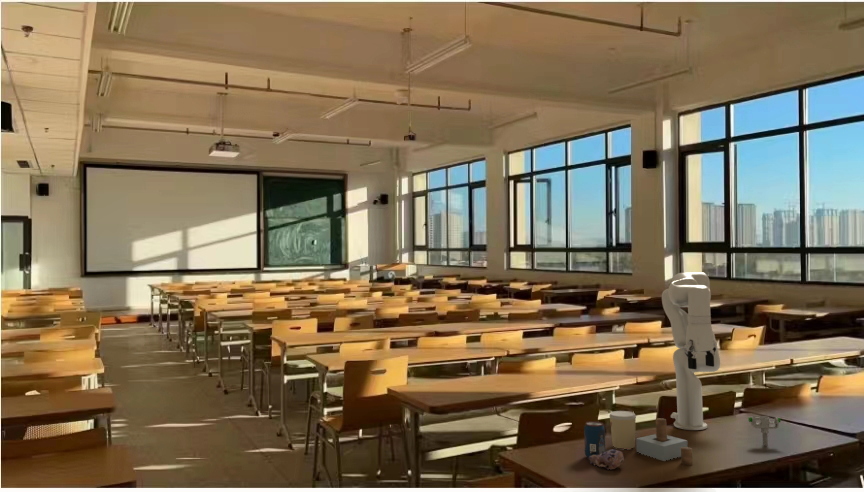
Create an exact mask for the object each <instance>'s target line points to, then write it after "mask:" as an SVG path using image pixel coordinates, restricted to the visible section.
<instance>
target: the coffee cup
mask: <svg viewBox="0 0 864 492" xmlns="http://www.w3.org/2000/svg"><path fill="white" fill-rule="evenodd" d="M636 418H637V415H636V414H635V412H634V411H633V412H632V411H628V410H616V411H611V412H610V413H609V421H610V423H609V424H610V433H611V434H610V435H611V441H612V447H613V446H614V447H617V448H624V449H626V448H633V447H634V448H635V446H636V444H635V443H636V423H637V422H636ZM614 447H613V448H614ZM617 448H616V449H617ZM634 448H633V449H634ZM624 449H623V450H624Z"/></svg>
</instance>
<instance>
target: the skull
mask: <svg viewBox="0 0 864 492" xmlns="http://www.w3.org/2000/svg"><path fill="white" fill-rule="evenodd" d="M588 461H589V462H590V464H593V465H594V464H595V465H598V466H599V467H598V468H602V467H603V468H605V469H606V470H609V469H610V470H615V469H616V468H618V467H620V466H621V465H622V464H623V463H624V462H625V458H624V453H623V452H622V451H620V450H619V449H615V448H614V449H608V450H605V452H603V453H602V454H600V455H592V456H589V459H588ZM595 465H594V466H595ZM600 466H601V467H600Z"/></svg>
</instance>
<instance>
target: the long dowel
mask: <svg viewBox="0 0 864 492" xmlns="http://www.w3.org/2000/svg"><path fill="white" fill-rule="evenodd" d="M667 430H668V428H667V419H666V418H663V417H662V418H661V417H660V418H659V417H657V418H655V434H656V438H657V441H660V442H665V441H667V435H668V433H667V432H668V431H667Z"/></svg>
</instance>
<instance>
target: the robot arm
mask: <svg viewBox="0 0 864 492" xmlns="http://www.w3.org/2000/svg"><path fill="white" fill-rule="evenodd" d="M710 281H711V280H710V278H709V276H708V274H706V273H705V272H701V271H698V272H693V271H691V272H678V273H676V274H675V275H673V276H672V278H671V283H670V284H669V286H668V288H666V289H664V290H663V291H662V293H661V303H662V308H663V311H664V313H665V315H666V316H667V318H668V319H669V322H670V327H671V333H672V338H673V343H674V345H675V346H676V348H677V349H676V350H675V351H674V352H673V354H672V361H673V366H674V372H675V381H676V382H675V383H676V384H675V385H676V387H675V388H676V406H677V407H676V409H677V412H672V413H671V414H670V418H672V419H675V421H674V422H673V427H675V428H678V429H680V430H681V429H682V430H685V431H686V430H687V431H702V430H706V429H708V424H707V423H706V422H704V414H703V412H704V411H703V410H704V409H703V388H702V387H703V385H702V381H701V380H700V378H699V377H698V376H697V375H696V374H695V373H702V372H703V373H710V372H711V373H712V372H717V371H719V369H720V367H721V357H720V353H719V350H718V342H717V339H716V336H715V333H714V330H713V326H712V322H711V321H712V317H711V298H712V292H711V289H710V287H711V282H710ZM682 308H687V312H686V311H685V310H683V309H682Z"/></svg>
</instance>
